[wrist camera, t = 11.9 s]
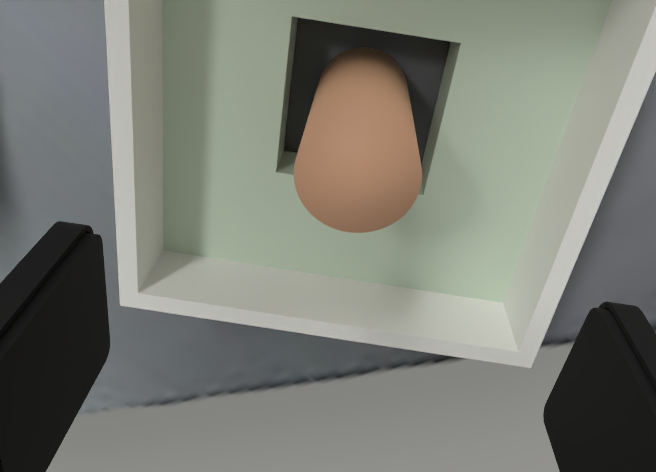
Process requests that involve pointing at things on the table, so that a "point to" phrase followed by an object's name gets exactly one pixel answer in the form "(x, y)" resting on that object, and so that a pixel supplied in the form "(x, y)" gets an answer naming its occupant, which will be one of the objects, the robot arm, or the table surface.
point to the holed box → (437, 166)
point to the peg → (359, 145)
